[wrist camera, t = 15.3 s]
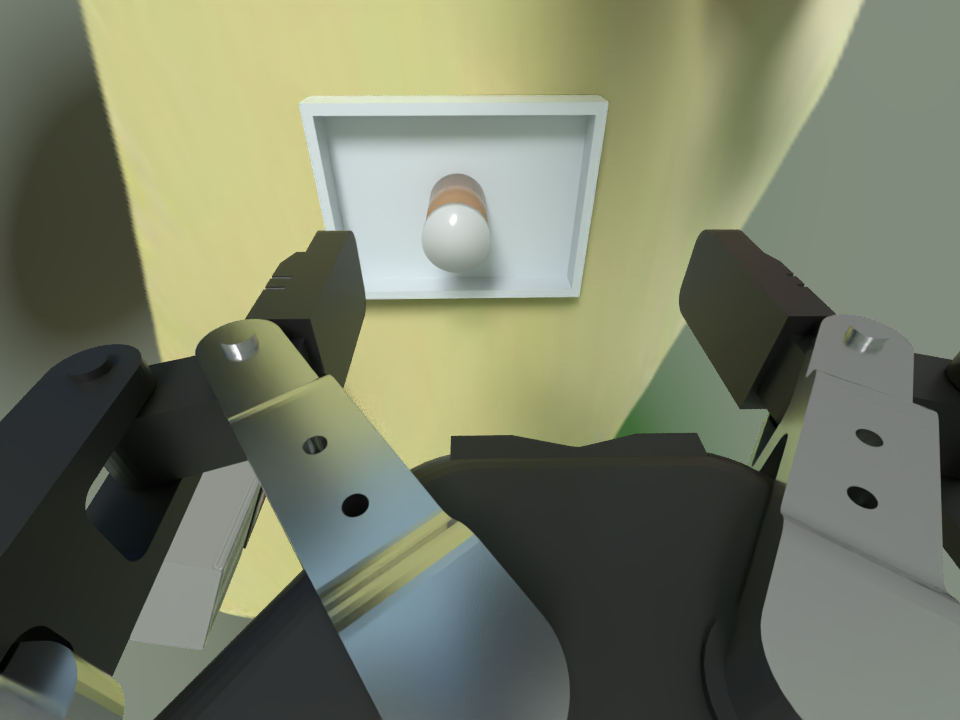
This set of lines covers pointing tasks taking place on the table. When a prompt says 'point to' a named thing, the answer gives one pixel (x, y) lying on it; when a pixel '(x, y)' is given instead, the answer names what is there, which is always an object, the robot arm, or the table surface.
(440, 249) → the shaker
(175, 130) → the table surface
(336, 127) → the tray
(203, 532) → the cassette tape recorder
